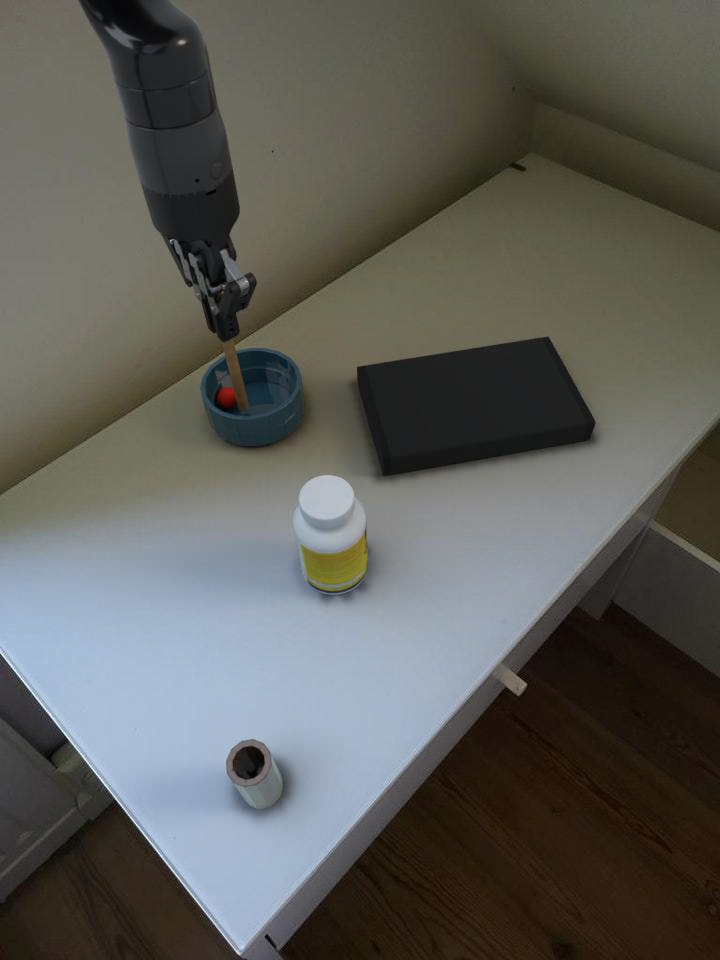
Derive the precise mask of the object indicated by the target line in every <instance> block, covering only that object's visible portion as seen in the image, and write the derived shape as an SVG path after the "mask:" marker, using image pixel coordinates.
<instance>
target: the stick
mask: <svg viewBox="0 0 720 960" xmlns="http://www.w3.org/2000/svg"><path fill="white" fill-rule="evenodd" d="M222 294H223V291H222V292H220V293H219V294H218V296H217V297H218V299H219V298H221V297H222ZM220 342H221V346H222V349H223V354H224V356H225V357H226V361H227V365H228V369H229V373H230V377H231V381H232V385H233V388H234V392H235V396H236V400H237V404H238V408H239V410H241V411H245V410H247V409H248V408H249V404H248V400H247V395H246V391H245V387H244V383H243V379H242V374H241V370H240V366H239V362H238V358H237V354H236V351H237V350H236V346H235V342H234V338H232V339H230V340H228V341H226V342H222V341H221V340H220Z"/></svg>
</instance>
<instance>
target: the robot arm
mask: <svg viewBox="0 0 720 960" xmlns="http://www.w3.org/2000/svg"><path fill="white" fill-rule="evenodd" d="M77 2H78V4H79V5H80V7H81V9H82V11H83V13H84V15H85V18H86V19H87V21H88V24H89V25H90V27H91V29H92V30H93V32H94V34H95V36H96V38H97V39H98V41H99V43H100V45H101V46H102V49H103V50H104V52H105V54H106V57H107V60H108V64H109V68H110V72H111V76H112V79H113V82H114V86H115V89H116V92H117V96H118V99H119V103H120V106H121V109H122V113H123V117H124V121H125V126H126V131H127V139H128V144H129V148H130V152H131V156H132V160H133V162H134V166H135V169H136V173H137V175H138V179H139V182H140V186H141V189H142V193H143V195H144V199H145V203H146V206H147V209H148V212H149V216H150V219H151V222H152V225H153V226H154V228H155V230H156V231H157V232H158V233H159V234H160V235H161V237H162V239H163V241H164V243H165V245H166V247H167V249H168V251H169V253H170V256H171V257H172V259H173V261H174V263H175V265H176V267H177V269H178V271H179V273H180V276H181V277H182V279H183V282H184V283H185V285H186V286H187V287H188V288H193V291H194V295H195V298H196V299H197V300H198V301H199V302H200V303H201V306H202V310H203V314H204V318H205V321H206V327H207V329H208V330H209V331H210V332H211V333H212V334H216V337H217V338H218V340H219V341H220V342H221V341H222V342H226V341H228V340H230V339H232V338H233V339H234V338H236V337H238V335H239V334H240V330H241V329H240V325H239V321H238V316H237V313H239V312H240V311H244V310H245V309H248V307H249V304H250V303H251V300H252V297H253V295H254V292H255V290H256V288H257V285H258V282H257V278H256V276H255V275H254V273H253V272H250V271H249V272H248V273H243V272H242V270H241V269H240V268H239V266H238V265H237V263H236V261H237V257H238V255H237V250H236V247H235V245H234V242H233V239H232V237H231V235H230V234H231V232H232V230H233V227H234V225H236V223H237V221H238V219H239V217H240V213H241V205H240V200H239V195H238V188H237V183H236V179H235V178H236V177H235V173H234V168H233V162H232V156H231V151H230V145H229V140H228V135H227V130H226V127H225V124H224V123H225V122H224V120H223V118H222V114H221V111H220V107H219V104H218V99H217V98H218V97H217V93H216V88H215V82H214V77H213V72H212V71H213V70H212V66H211V62H210V57H209V52H208V47H207V43H206V40H205V37H204V33H203V30H202V28H201V27H200V25H199V24H198V22H197V20H195V18H193V17H192V16H191V15H189V13H187V12H186V11H184V10H183V9H181V8H180V7H178V6H177V4H176V3H174V2H173V1H172V0H77ZM220 292H222V297H221V298H219V299H218V297H217V296H218V294H219V293H220ZM222 342H221V343H222Z"/></svg>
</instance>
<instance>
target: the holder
mask: <svg viewBox="0 0 720 960" xmlns="http://www.w3.org/2000/svg"><path fill="white" fill-rule="evenodd" d="M225 766H226V767H225V769H226V774H227V776H228V777H229V779H230V780H231V782H232V783H233V784H234V786H235V788H236V789H237V790H238V792H239V793H240V795H241V797H242V798H243V799H244V801H245V802H246V804H248V805H249V806H250V807H251V808H254V809H258V810H264V809H268V808H270V807H272V806H273V805H275V804H276V803H277V802H278V800H279V799H280V797H281V795H282V792H283V788H284V785H283V783H284V782H283V778H282V775H281V772H280V770H279V768H278V766H277V764H276V762H275V759H274V757H273V755H272V753H271V750H269V747H268V746H267V745H266V743H264V742H262V741H260V740H257V739H254V738H251V739H250V738H249V739H245V740H244V739H243V740H241V741H239V743H237V744H236V745H234V746H233V747H232V748H231V749H230V751H229V753H228V756H227V758H226V760H225Z"/></svg>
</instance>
